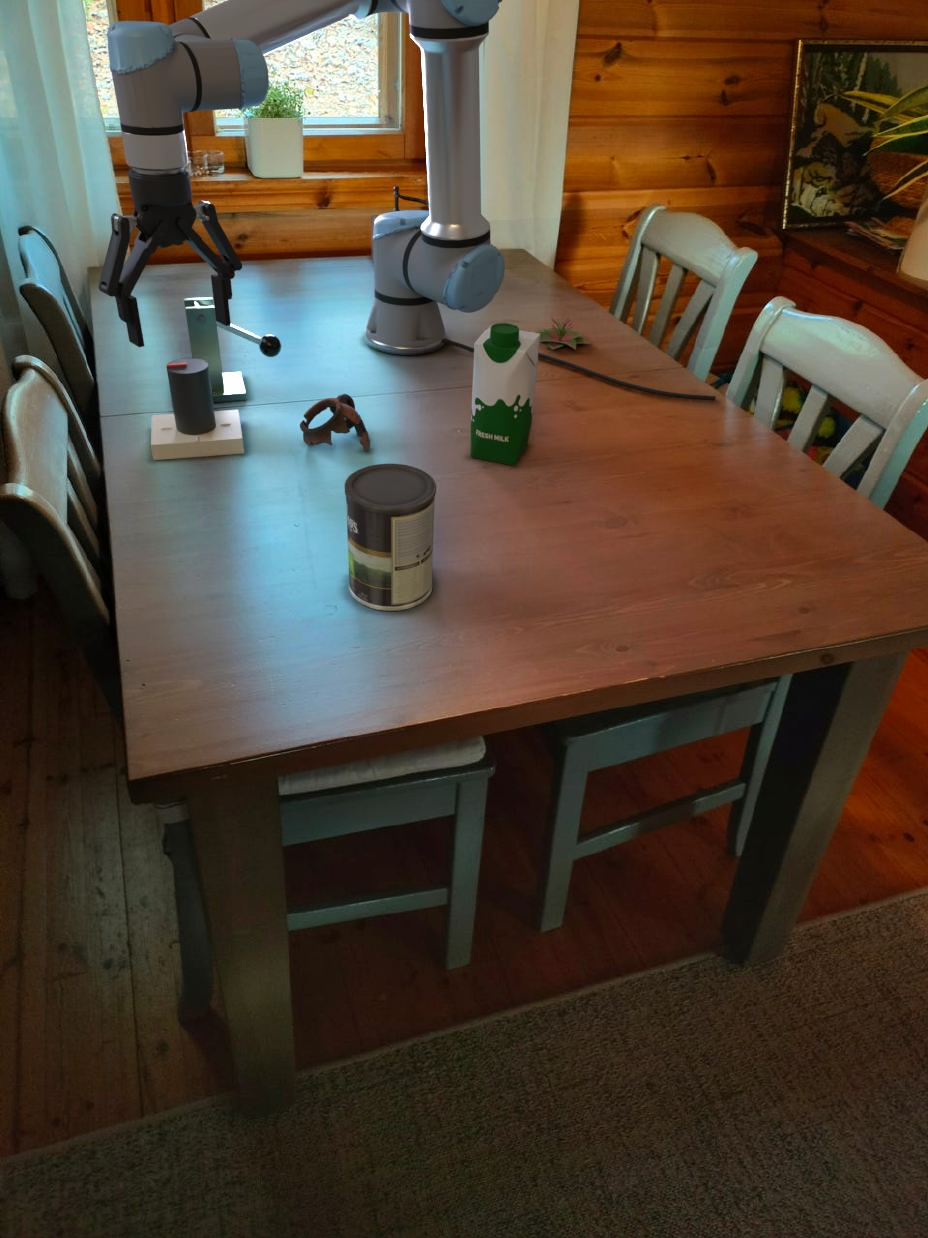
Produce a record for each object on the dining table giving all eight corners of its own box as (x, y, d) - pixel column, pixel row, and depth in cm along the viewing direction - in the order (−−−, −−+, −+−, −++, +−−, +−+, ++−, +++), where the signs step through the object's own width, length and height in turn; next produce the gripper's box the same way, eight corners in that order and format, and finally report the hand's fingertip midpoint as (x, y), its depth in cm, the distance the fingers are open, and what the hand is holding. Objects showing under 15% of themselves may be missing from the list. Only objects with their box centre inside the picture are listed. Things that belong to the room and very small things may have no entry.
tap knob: (215, 416, 140) (207, 354, 134) (216, 433, 135) (208, 370, 129) (176, 419, 138) (166, 356, 132) (176, 436, 134) (166, 372, 128)
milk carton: (463, 458, 138) (469, 328, 125) (481, 434, 144) (489, 308, 132) (518, 470, 136) (530, 338, 123) (534, 444, 142) (547, 317, 130)
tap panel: (240, 424, 144) (238, 408, 142) (244, 453, 136) (242, 437, 134) (154, 430, 141) (151, 414, 139) (153, 460, 133) (150, 443, 131)
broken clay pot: (370, 464, 136) (341, 424, 130) (317, 481, 140) (287, 443, 134) (381, 411, 143) (354, 371, 138) (331, 429, 147) (302, 390, 141)
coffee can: (347, 613, 106) (343, 508, 98) (349, 563, 114) (345, 462, 106) (435, 611, 107) (439, 508, 99) (431, 562, 115) (433, 462, 107)
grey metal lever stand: (241, 378, 157) (231, 291, 148) (246, 399, 151) (237, 310, 142) (175, 382, 155) (161, 295, 146) (177, 405, 148) (163, 314, 139)
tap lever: (274, 355, 154) (283, 336, 152) (277, 363, 151) (286, 344, 150) (187, 316, 146) (195, 296, 145) (188, 324, 143) (197, 303, 142)
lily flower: (602, 348, 176) (605, 325, 173) (548, 356, 171) (551, 332, 169) (569, 327, 184) (572, 304, 181) (518, 334, 180) (519, 311, 177)
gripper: (227, 152, 124) (242, 307, 137) (48, 173, 110) (84, 344, 123) (258, 162, 120) (271, 322, 133) (77, 185, 106) (111, 361, 119)
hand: (181, 333), depth 128 cm, fingers open, 13 cm apart
